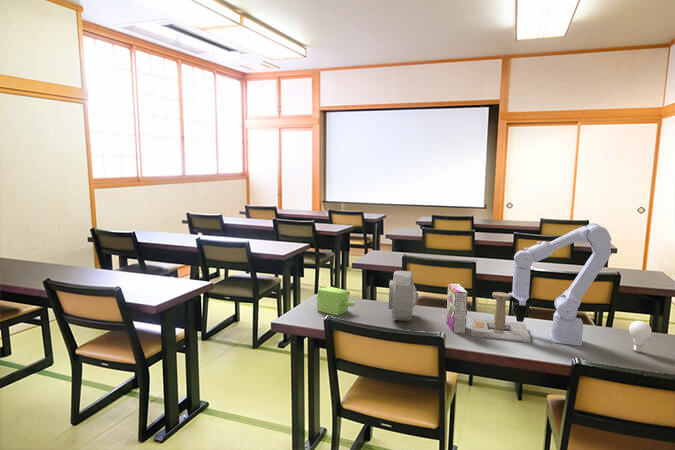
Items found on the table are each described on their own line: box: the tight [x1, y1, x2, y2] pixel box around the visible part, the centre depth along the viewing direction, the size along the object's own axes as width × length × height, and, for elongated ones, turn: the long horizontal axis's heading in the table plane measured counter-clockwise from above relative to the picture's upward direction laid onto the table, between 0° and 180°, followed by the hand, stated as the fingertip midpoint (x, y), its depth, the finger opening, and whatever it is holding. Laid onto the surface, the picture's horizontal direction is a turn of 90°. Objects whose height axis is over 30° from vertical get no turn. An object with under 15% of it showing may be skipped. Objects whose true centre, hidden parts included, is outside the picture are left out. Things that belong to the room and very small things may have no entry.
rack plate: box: [470, 317, 531, 343], centre depth 165 cm, size 20×14×2 cm
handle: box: [492, 291, 511, 331], centre depth 164 cm, size 5×6×15 cm
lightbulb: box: [628, 320, 653, 353], centre depth 149 cm, size 6×6×11 cm
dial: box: [388, 270, 419, 322], centre depth 177 cm, size 20×12×20 cm, turn 171°
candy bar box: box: [445, 283, 469, 334], centre depth 168 cm, size 11×5×16 cm, turn 0°
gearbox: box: [316, 286, 355, 316], centre depth 186 cm, size 18×10×10 cm, turn 56°
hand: (518, 318), depth 163 cm, fingers open, 7 cm apart
